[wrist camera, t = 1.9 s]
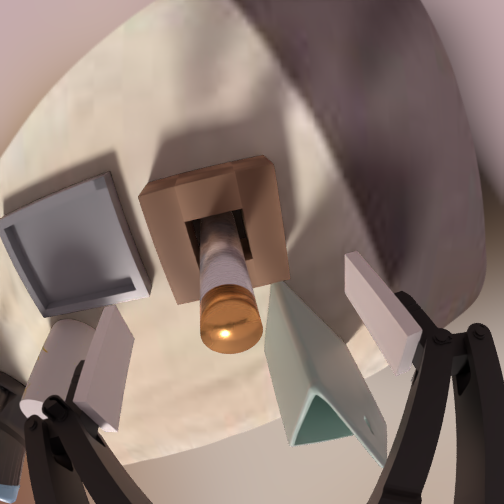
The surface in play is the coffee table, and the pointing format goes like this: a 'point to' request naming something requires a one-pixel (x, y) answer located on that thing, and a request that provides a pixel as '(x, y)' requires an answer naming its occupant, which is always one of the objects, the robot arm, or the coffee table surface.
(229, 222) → the pin
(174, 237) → the block
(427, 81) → the coffee table surface
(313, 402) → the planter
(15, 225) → the tray
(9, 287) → the coffee table surface
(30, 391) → the white cylinder
